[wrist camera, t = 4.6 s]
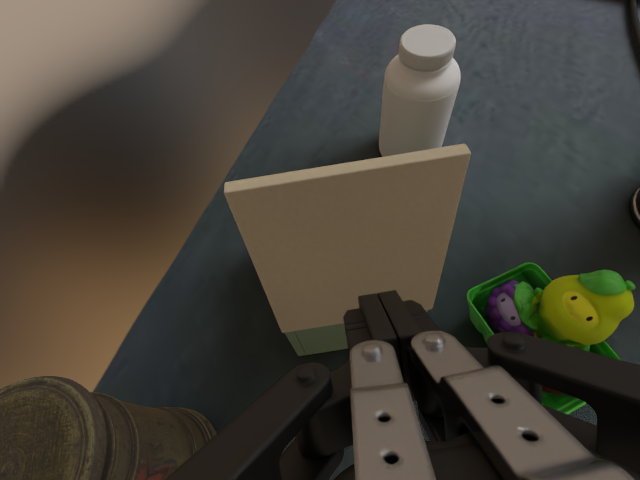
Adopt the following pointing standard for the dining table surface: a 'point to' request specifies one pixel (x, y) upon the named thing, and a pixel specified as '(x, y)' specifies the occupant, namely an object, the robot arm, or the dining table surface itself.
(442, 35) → the pill bottle
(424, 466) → the robot arm
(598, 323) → the fruit basket
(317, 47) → the dining table surface
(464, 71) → the dining table surface
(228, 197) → the lid
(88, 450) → the container
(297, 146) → the dining table surface
